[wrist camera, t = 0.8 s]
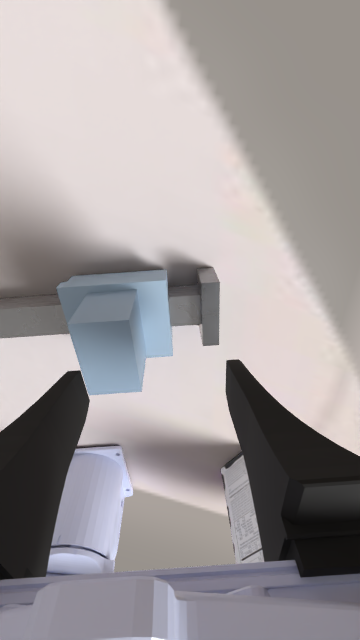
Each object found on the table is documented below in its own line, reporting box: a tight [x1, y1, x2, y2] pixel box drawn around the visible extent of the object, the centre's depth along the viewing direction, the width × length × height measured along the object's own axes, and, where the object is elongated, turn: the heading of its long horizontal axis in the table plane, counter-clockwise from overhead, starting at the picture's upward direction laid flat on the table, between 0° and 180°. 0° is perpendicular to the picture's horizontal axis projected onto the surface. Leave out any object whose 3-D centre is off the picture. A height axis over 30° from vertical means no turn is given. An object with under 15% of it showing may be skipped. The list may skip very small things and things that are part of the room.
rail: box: [0, 267, 220, 346], centre depth 20 cm, size 5×21×3 cm, turn 93°
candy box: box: [221, 453, 264, 564], centre depth 27 cm, size 14×6×16 cm, turn 56°
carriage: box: [56, 269, 173, 395], centre depth 18 cm, size 6×7×7 cm
